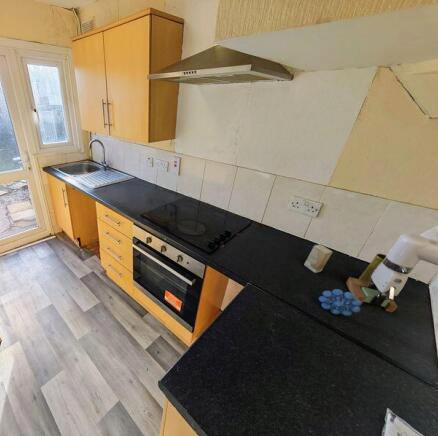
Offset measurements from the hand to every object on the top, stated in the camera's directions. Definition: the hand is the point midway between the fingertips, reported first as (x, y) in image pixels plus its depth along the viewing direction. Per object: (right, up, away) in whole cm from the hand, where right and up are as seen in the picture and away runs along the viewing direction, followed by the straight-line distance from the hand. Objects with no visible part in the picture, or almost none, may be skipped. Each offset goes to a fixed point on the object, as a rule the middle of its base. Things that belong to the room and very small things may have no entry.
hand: (372, 298), depth 93 cm
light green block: (0, -1, 0) cm, 1 cm away
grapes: (-20, -4, -4) cm, 21 cm away
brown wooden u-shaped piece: (+1, 0, +3) cm, 3 cm away
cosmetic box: (-12, +8, +17) cm, 23 cm away
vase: (+8, +4, +11) cm, 14 cm away
